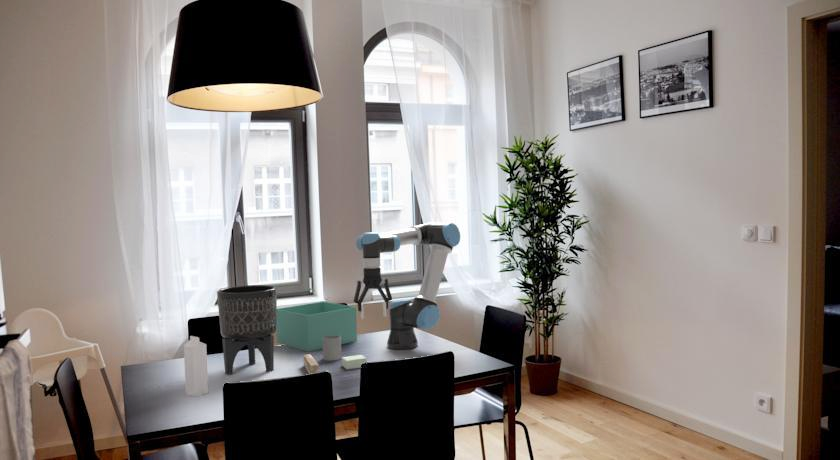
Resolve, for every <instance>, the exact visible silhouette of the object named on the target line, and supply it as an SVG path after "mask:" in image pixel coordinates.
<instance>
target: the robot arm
mask: <svg viewBox="0 0 840 460" xmlns="http://www.w3.org/2000/svg"><path fill="white" fill-rule="evenodd" d="M460 241H461V232H460V228H459V227H458V226H457V224H456V223H453V222H447V221H445V222H427V223H423V224H418V225H417V224H416V225H413V226H410V227H409V228H405V229H400V230H393V231H387V232H381V233H379V232H374V231H371V232H364V233H363V234H362V235H359V236H357V238H356V241H355V243H356V244H355V245H356V248H357V249H358V250H359V251H361V252H362V261H363V265H362V266H363V279H361V280H356V288H355V294H354V297H353V303H355V304H357V312H359V313H360V319H361V320H364V303H363V301H364V299H365V297H366V296H367V293H368V291H369V289H371V290H372V289H377V290H378V293H379V294H380V296H381V297H382V299H383V301H382V317H384V318H387V310H388V309H389V310H388V311H389V326H390V327H389V329H390V331H389V335H388V338H387V342H386V344H387V346H386V347H387V348H388V349H391V350H392V349H393V350H409V349H410V348H411V349H415V348H417V347H418V346H419V345H418V344H419V343H418V338H417V335H416V333H415V329H414V328H416V329H420V330H431V329H433V328H435V326H436V325H437V324H438V322H439V320H440V310H439V309H440V308H439V307H438V302H437V300H436V299H437V295H438V292H439V289H440V285H441V281H442V277H443V274H444V271H445V270H444V269H445V265H446V262H447V259H448V255H449V254H450V253H452V252H453V249H454V247H456V246H457V245H460V244H459V243H460ZM406 245H412V246H413V245H414V246H418V245H422V246H423V245H425V246H429V248H430V253H429V255H428V256H429V257H428V260H427V263H426V268H425V270H424V274H423V278H422V281H421V284H420V288H419V291H418V295H417V296H415V297H414V299H412V298H406V299H397V300H393V298H392V294H391V290H390V287H389V284H388V283H389V279H388V278H386V277H385V278H382V277H381V275H382V274H381V254H383V253H394V252H397V251H399V250H400V248H401V246H406ZM381 283H382V284H383V286H384V290H383V289H382V287H381V285H380V284H381ZM363 284H364V287H363V290H362V292H361V289H362V285H363ZM384 291H385V292H384ZM360 292H361V293H360ZM389 301H390V302H389ZM389 303H390V304H389ZM411 349H410V350H411Z"/></svg>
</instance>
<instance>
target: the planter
mask: <svg viewBox="0 0 840 460" xmlns="http://www.w3.org/2000/svg"><path fill="white" fill-rule="evenodd" d="M277 290H278V289H277V287H276V286H274V285H265V284H264V285H262V284H257V285H256V284H254V285H253V284H252V285H238V286H231V287H224V288H220V289H218V290H217V291H216V296H217V307H218V318H219V327H220V330H219V331H220V334H221V336H222V351H223V352H222V353H223V362H224V363H223V364H224V374H225V375H227V376H230V375H233V373H234V372H233V371H234V364H235V363H234V362H235V359H236V358H237V355H238V354H239V352H240V351H241V350H242V349H243V348H244V347H246V346H247V349H248V350H247V352H248V364H249V365H255V364H256V348H257V350H258V351H259V352H260V354H261V355H262V358H263V361H264V365H265V372H269V371H271V372H273V371H275V370H274V369H275V367H274V366H275V365H274V361H275V360H274V359H275V358H274V356H275V354H274V351H275V350H274V347H275V345H274V343H275V341H274V340H275V339H274V338H275V335H273V334H275V332H277V329H276V310H277V309H278V307H277V297H278V296H277V294H278V293H277ZM272 370H273V371H272Z"/></svg>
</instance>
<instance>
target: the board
mask: <svg viewBox="0 0 840 460" xmlns="http://www.w3.org/2000/svg"><path fill="white" fill-rule="evenodd" d="M302 357H303V367H304V369H305V370H306V372H307V373H308V375H310V373H317V372H319V373H320V371H319V370H320V369H319V368H320V366H319V363H318V362H317V361H316V359H315V358H314V357H313V356H312V355H311V354H310V353H309V354H303V355H302Z"/></svg>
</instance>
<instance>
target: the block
mask: <svg viewBox="0 0 840 460" xmlns="http://www.w3.org/2000/svg"><path fill="white" fill-rule="evenodd" d="M364 362H366V363H367V357H365V356H364V355H363V354H357V355H348V356H341V363H342V364H341V366H342V367H343V368H344V369H346V370H350V369H351V370H352V369H359V368H361V367H360V365H361V363H364Z"/></svg>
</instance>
